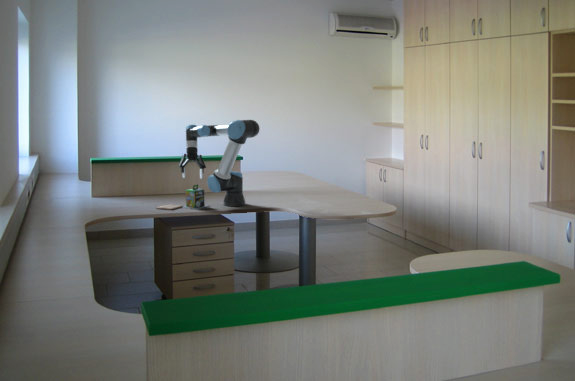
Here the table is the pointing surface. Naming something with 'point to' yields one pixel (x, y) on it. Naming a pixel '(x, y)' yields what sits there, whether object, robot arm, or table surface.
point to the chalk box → (195, 197)
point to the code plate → (196, 207)
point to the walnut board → (169, 207)
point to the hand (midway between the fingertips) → (192, 178)
